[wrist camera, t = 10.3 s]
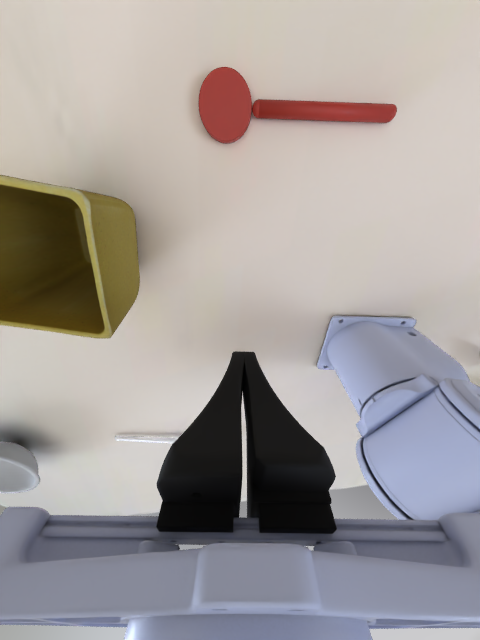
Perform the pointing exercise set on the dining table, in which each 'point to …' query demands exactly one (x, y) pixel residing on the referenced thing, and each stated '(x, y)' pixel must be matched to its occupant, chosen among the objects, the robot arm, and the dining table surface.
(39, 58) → the dining table surface
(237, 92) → the red spoon
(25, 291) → the flower pot
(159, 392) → the dining table surface
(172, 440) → the white fork
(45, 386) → the dining table surface
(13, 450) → the dish
